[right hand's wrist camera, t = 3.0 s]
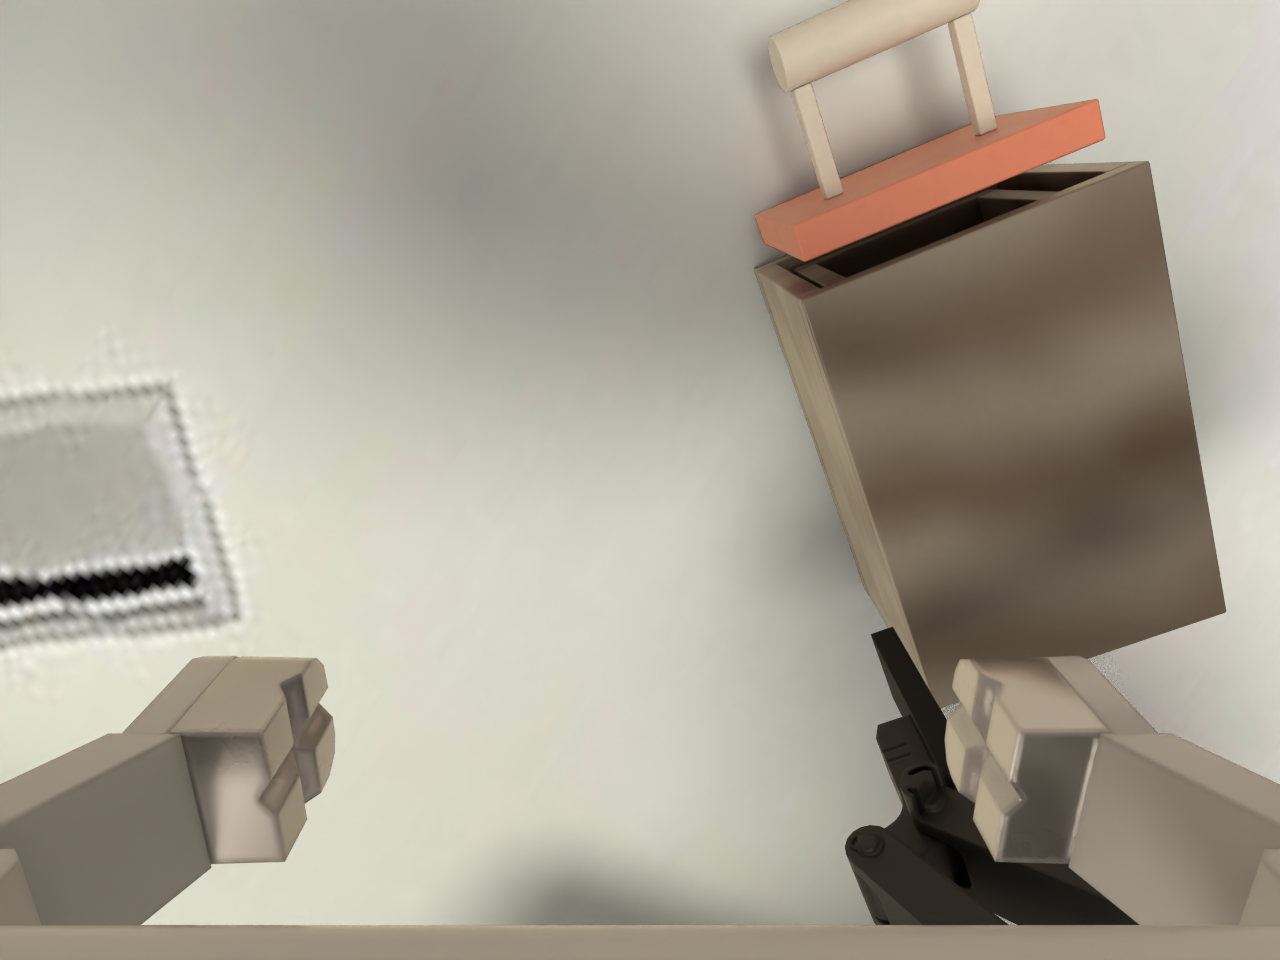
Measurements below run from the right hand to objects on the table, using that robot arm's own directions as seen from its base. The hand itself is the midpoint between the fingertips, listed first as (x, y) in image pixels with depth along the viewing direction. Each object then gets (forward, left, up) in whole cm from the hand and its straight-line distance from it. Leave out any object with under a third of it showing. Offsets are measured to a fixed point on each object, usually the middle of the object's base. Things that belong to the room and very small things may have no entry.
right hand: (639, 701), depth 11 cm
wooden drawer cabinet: (+11, +8, -26) cm, 29 cm away
